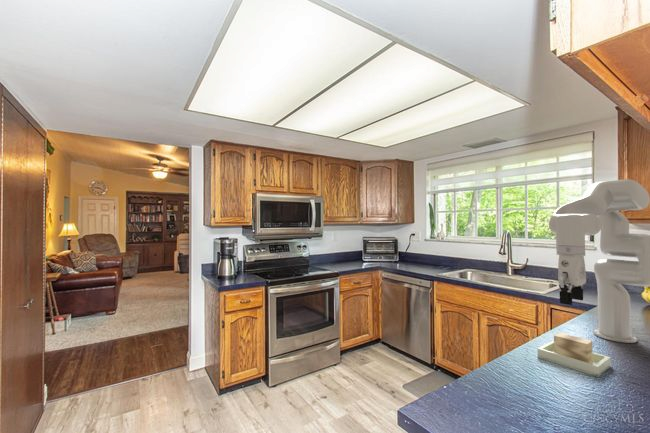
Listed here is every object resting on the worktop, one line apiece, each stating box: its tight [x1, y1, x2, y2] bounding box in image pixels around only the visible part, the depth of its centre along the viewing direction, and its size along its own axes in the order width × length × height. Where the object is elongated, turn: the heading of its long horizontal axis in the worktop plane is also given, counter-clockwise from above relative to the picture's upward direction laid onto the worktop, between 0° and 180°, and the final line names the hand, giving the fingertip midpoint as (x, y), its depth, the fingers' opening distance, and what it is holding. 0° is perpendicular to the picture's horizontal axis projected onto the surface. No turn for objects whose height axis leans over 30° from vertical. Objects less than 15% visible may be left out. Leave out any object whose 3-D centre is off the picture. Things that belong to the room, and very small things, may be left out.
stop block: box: [553, 332, 593, 364], centre depth 100 cm, size 9×4×7 cm, turn 34°
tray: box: [536, 340, 612, 378], centre depth 100 cm, size 12×16×3 cm
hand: (571, 301), depth 100 cm, fingers open, 9 cm apart
